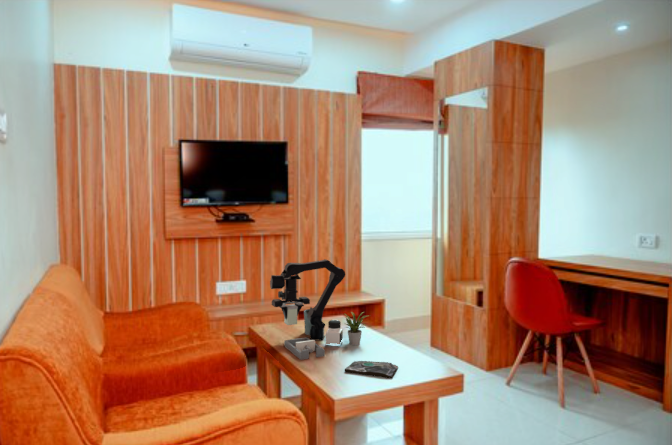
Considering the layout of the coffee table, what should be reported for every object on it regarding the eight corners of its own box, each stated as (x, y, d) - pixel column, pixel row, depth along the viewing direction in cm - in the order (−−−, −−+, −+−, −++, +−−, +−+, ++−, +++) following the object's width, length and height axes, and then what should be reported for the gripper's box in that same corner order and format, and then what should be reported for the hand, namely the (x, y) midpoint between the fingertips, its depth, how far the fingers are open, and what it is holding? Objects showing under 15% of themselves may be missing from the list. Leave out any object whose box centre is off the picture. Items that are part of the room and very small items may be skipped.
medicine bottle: (339, 347, 235) (340, 322, 234) (325, 346, 236) (325, 322, 235) (342, 342, 242) (342, 319, 241) (328, 341, 243) (329, 318, 242)
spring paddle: (295, 352, 225) (295, 342, 225) (313, 350, 229) (313, 339, 229) (301, 357, 218) (301, 346, 218) (320, 354, 222) (320, 344, 222)
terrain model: (399, 367, 209) (399, 360, 209) (391, 380, 195) (391, 372, 195) (354, 361, 216) (354, 354, 216) (344, 373, 202) (344, 366, 202)
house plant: (371, 339, 247) (372, 308, 246) (370, 348, 234) (371, 315, 233) (344, 338, 249) (344, 307, 248) (341, 346, 235) (342, 313, 234)
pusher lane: (284, 346, 235) (284, 338, 235) (307, 343, 240) (307, 335, 240) (300, 359, 216) (300, 351, 216) (324, 356, 221) (324, 347, 221)
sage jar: (293, 321, 247) (293, 304, 246) (297, 324, 242) (297, 306, 241) (283, 322, 244) (283, 305, 244) (287, 325, 240) (287, 307, 239)
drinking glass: (301, 331, 260) (301, 309, 259) (318, 329, 264) (318, 308, 264) (308, 336, 251) (308, 314, 250) (325, 334, 255) (325, 312, 255)
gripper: (302, 283, 253) (301, 313, 254) (268, 286, 245) (268, 316, 246) (310, 287, 244) (310, 318, 244) (275, 290, 235) (275, 321, 236)
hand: (290, 318), depth 243 cm, fingers closed on sage jar, 5 cm apart
